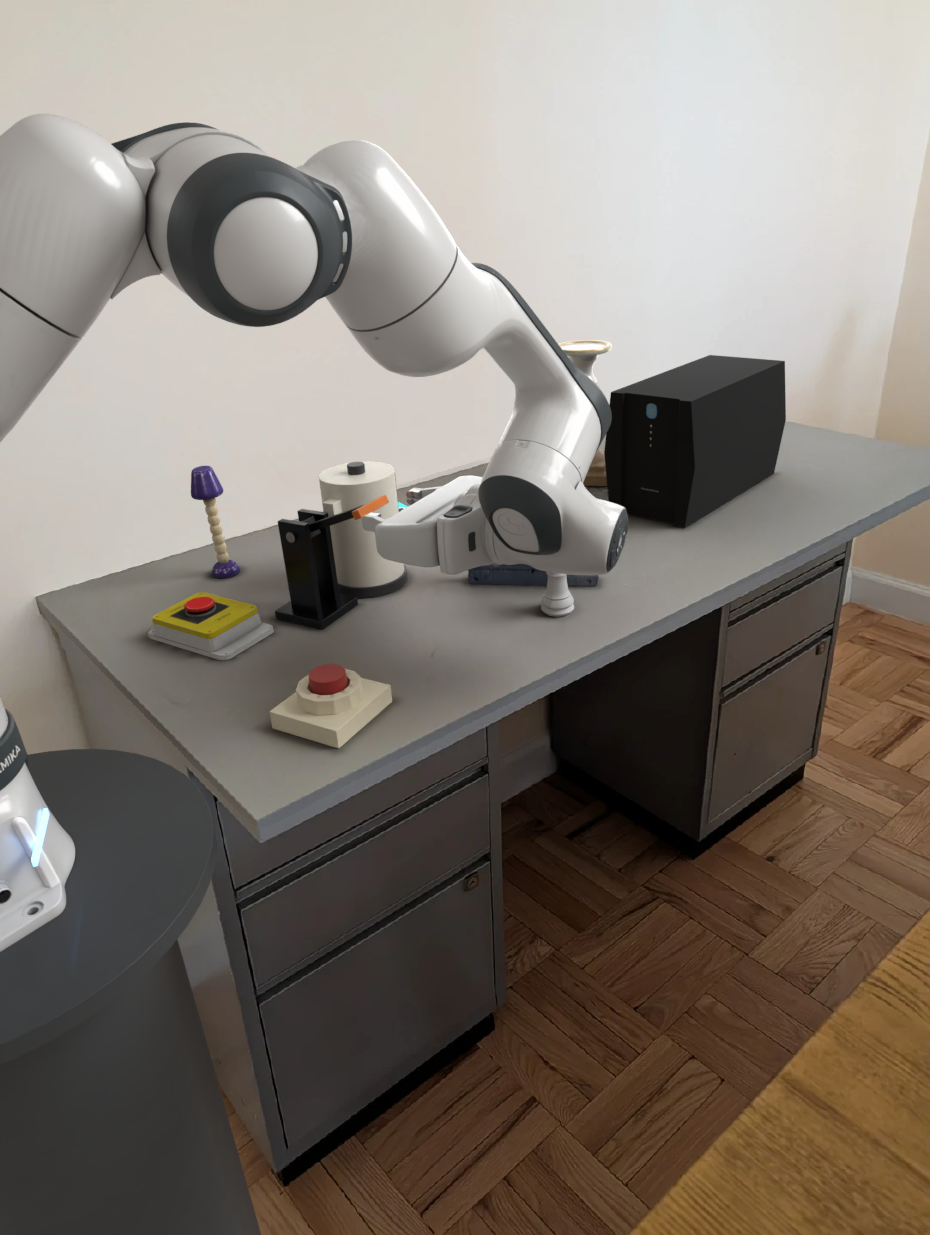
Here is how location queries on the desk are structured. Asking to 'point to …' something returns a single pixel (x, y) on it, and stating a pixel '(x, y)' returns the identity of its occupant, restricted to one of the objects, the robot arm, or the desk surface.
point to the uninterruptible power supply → (694, 437)
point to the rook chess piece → (557, 596)
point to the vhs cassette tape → (521, 576)
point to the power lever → (345, 515)
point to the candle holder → (584, 359)
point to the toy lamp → (213, 517)
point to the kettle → (361, 527)
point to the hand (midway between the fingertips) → (388, 507)
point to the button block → (331, 710)
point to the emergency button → (210, 626)
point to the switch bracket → (311, 574)
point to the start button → (328, 679)
